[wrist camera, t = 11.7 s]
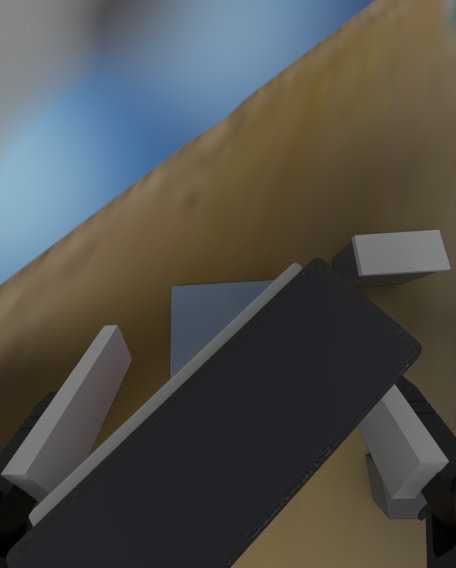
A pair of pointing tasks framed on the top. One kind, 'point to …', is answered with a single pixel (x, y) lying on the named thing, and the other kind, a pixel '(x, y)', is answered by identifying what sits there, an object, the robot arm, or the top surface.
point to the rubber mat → (205, 315)
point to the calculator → (227, 434)
